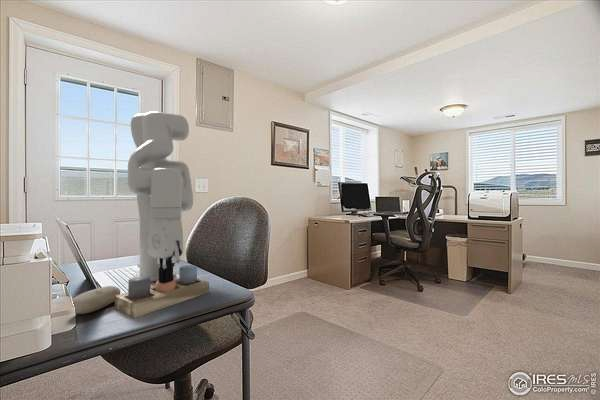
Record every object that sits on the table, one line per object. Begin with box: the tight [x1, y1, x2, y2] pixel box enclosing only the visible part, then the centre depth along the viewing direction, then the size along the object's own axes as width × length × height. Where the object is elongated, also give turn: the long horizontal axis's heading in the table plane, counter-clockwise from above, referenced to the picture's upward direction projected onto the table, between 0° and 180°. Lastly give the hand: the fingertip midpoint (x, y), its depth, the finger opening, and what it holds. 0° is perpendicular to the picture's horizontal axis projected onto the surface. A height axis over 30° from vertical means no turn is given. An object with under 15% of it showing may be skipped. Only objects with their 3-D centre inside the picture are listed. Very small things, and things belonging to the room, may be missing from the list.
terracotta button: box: [155, 278, 175, 293], centre depth 77 cm, size 5×5×4 cm
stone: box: [71, 285, 121, 315], centre depth 71 cm, size 6×6×12 cm
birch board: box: [114, 278, 210, 319], centre depth 78 cm, size 10×21×3 cm, turn 147°
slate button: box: [178, 264, 198, 284], centre depth 83 cm, size 5×5×4 cm
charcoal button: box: [127, 276, 151, 298], centre depth 72 cm, size 5×5×4 cm
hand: (165, 281), depth 77 cm, fingers closed
